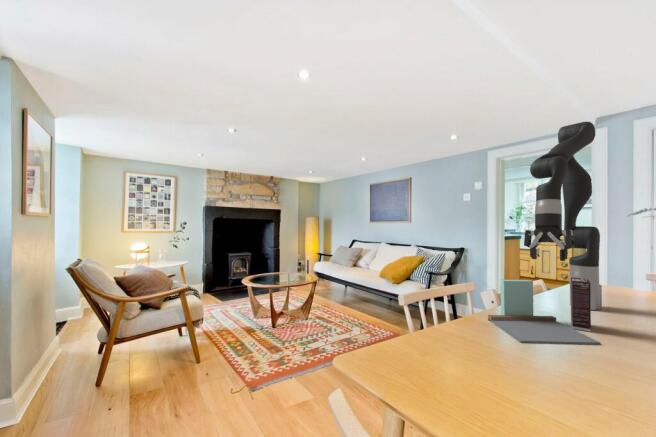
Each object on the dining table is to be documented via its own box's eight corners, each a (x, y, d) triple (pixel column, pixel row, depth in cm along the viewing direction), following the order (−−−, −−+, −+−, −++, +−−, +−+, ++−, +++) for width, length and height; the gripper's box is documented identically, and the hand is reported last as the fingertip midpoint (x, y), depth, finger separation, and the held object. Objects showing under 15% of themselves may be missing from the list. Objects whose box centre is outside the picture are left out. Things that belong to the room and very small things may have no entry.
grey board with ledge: (488, 319, 105) (488, 314, 105) (552, 321, 104) (552, 315, 104) (520, 342, 85) (520, 336, 85) (600, 344, 84) (600, 338, 84)
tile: (500, 317, 108) (500, 279, 108) (529, 318, 107) (528, 279, 107) (504, 319, 105) (503, 280, 105) (533, 320, 105) (532, 281, 105)
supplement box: (591, 332, 93) (591, 282, 93) (572, 329, 96) (571, 280, 96) (588, 324, 100) (588, 278, 100) (570, 321, 103) (569, 276, 103)
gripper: (578, 213, 98) (578, 262, 96) (531, 215, 110) (530, 259, 109) (567, 210, 94) (567, 261, 93) (520, 213, 107) (519, 258, 105)
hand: (547, 260), depth 101 cm, fingers open, 8 cm apart
